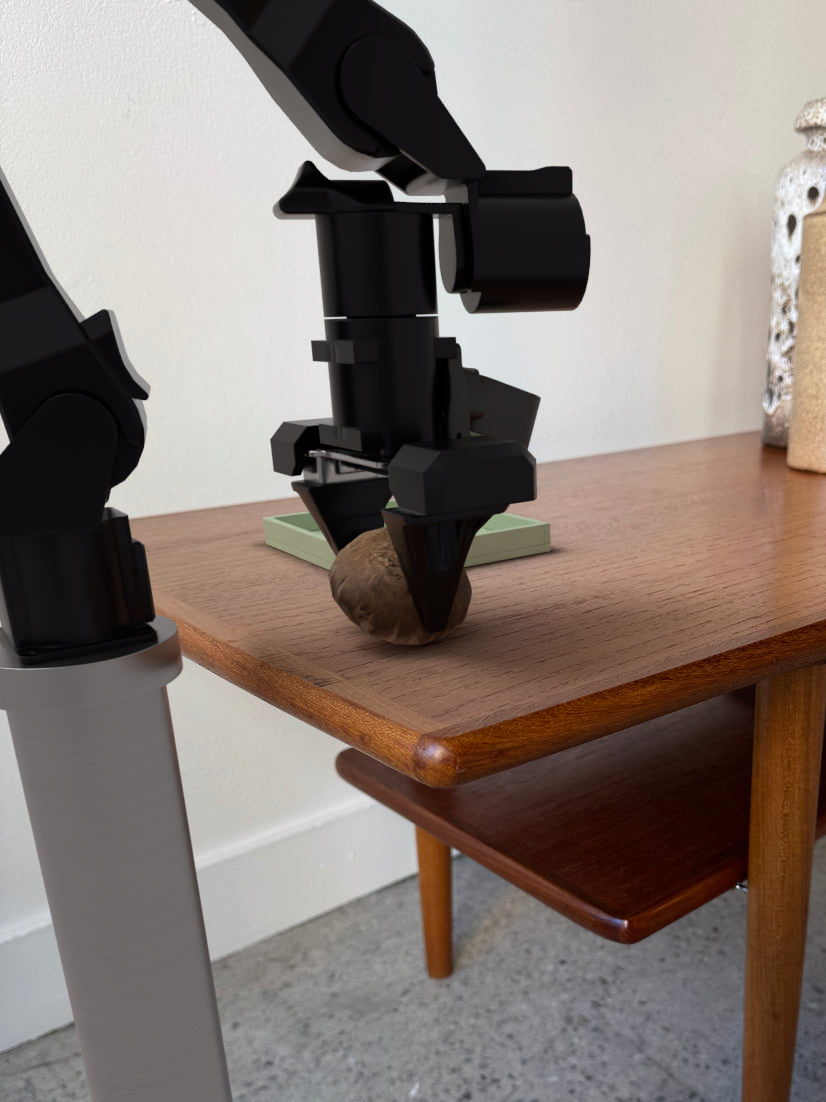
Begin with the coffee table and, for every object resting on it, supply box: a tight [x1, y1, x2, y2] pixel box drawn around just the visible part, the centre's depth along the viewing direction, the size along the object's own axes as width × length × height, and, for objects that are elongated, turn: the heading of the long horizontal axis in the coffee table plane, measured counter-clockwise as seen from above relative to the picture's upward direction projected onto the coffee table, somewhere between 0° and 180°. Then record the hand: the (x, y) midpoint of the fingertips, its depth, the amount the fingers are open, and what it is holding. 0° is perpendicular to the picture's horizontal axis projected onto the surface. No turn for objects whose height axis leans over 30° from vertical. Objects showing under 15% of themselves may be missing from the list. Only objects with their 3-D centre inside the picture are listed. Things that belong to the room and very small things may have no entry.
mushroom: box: [328, 527, 473, 647], centre depth 57 cm, size 8×8×6 cm
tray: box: [262, 498, 552, 571], centre depth 79 cm, size 15×17×2 cm
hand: (402, 616), depth 58 cm, fingers closed on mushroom, 7 cm apart
